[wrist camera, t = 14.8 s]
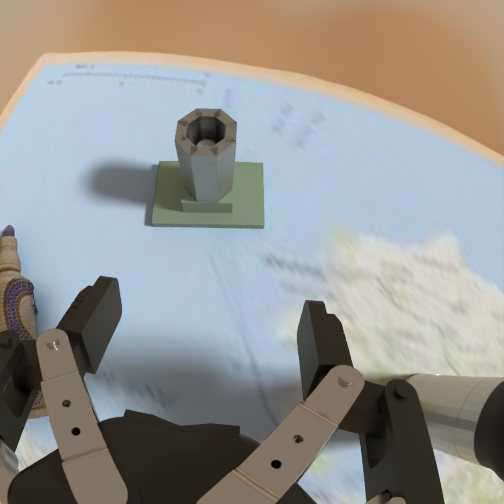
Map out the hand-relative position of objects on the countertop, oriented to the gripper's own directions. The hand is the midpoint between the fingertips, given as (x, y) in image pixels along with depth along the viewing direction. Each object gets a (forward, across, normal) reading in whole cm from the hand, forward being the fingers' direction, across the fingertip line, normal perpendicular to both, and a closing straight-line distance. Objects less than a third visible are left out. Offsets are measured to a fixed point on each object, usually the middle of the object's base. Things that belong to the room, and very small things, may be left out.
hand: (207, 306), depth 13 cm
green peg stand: (+30, +4, +6) cm, 31 cm away
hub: (+27, +4, +3) cm, 27 cm away
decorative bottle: (+15, +26, +21) cm, 36 cm away
